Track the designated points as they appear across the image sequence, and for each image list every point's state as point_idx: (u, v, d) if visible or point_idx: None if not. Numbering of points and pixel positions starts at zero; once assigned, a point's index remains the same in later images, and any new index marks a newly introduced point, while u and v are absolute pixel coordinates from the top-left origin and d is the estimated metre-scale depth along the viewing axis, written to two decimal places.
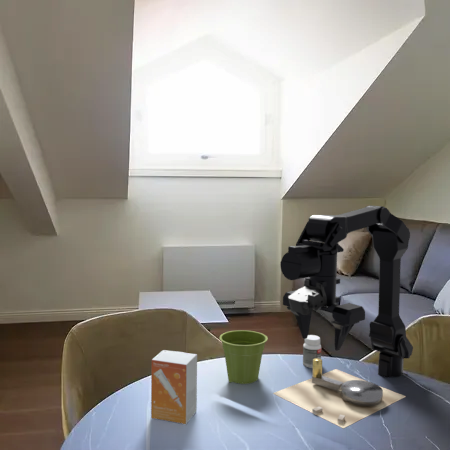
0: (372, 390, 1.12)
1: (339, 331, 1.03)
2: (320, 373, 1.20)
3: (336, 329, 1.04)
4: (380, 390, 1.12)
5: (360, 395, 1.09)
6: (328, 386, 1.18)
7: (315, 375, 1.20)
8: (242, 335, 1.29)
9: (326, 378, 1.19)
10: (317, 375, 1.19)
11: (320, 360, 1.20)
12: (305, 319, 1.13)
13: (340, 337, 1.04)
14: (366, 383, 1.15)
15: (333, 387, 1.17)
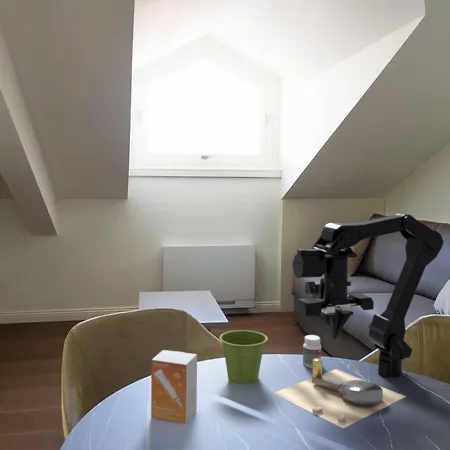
0: (372, 390, 1.12)
1: None
2: (320, 373, 1.20)
3: None
4: (380, 390, 1.12)
5: (360, 395, 1.09)
6: (328, 386, 1.18)
7: (315, 375, 1.20)
8: (242, 335, 1.29)
9: (326, 378, 1.19)
10: (317, 375, 1.19)
11: (320, 360, 1.20)
12: None
13: (328, 325, 1.22)
14: (366, 383, 1.15)
15: (333, 387, 1.17)
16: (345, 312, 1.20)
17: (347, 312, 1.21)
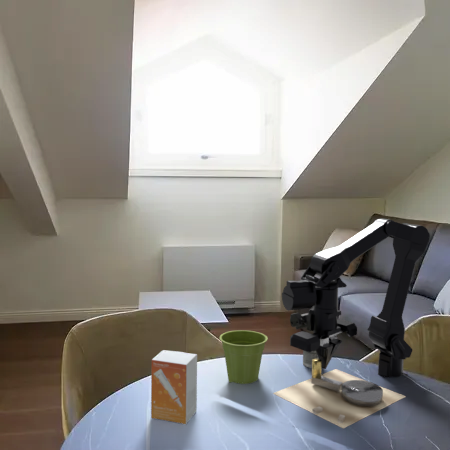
0: (372, 390, 1.12)
1: None
2: (319, 373, 1.19)
3: None
4: (380, 389, 1.12)
5: (361, 395, 1.09)
6: (328, 386, 1.17)
7: (314, 375, 1.19)
8: (242, 335, 1.29)
9: (325, 379, 1.19)
10: (316, 375, 1.19)
11: (319, 360, 1.20)
12: None
13: (319, 356, 1.21)
14: (366, 383, 1.16)
15: (333, 387, 1.17)
16: (335, 342, 1.20)
17: (335, 341, 1.21)
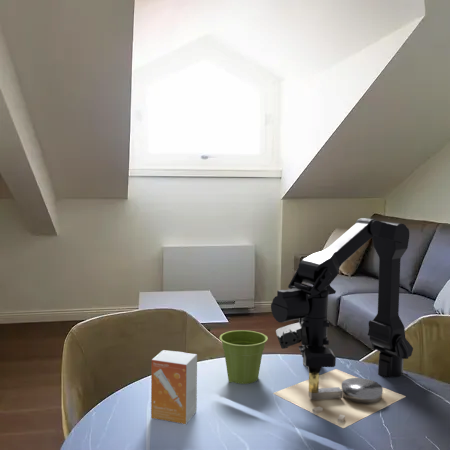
0: (369, 384, 1.15)
1: None
2: None
3: None
4: (372, 381, 1.17)
5: (374, 392, 1.11)
6: (330, 396, 1.12)
7: (315, 390, 1.11)
8: (242, 335, 1.29)
9: (323, 390, 1.13)
10: (317, 389, 1.12)
11: (316, 373, 1.12)
12: None
13: (311, 368, 1.13)
14: (355, 380, 1.17)
15: (336, 395, 1.12)
16: None
17: None
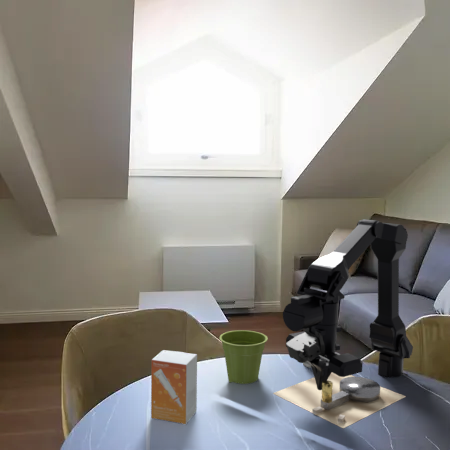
0: (363, 381, 1.17)
1: (320, 372, 1.07)
2: None
3: (317, 370, 1.08)
4: (361, 378, 1.19)
5: (376, 388, 1.13)
6: (341, 402, 1.09)
7: (331, 399, 1.07)
8: (242, 335, 1.29)
9: (333, 397, 1.09)
10: (331, 398, 1.07)
11: (328, 381, 1.08)
12: None
13: (322, 377, 1.08)
14: (348, 380, 1.17)
15: (345, 400, 1.10)
16: None
17: None
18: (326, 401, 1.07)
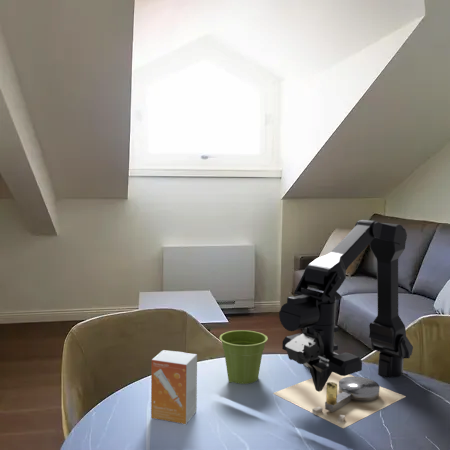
0: (361, 380, 1.17)
1: (320, 373, 1.07)
2: None
3: (317, 371, 1.08)
4: (358, 377, 1.19)
5: (376, 387, 1.14)
6: (344, 403, 1.09)
7: (336, 401, 1.06)
8: (242, 335, 1.29)
9: (337, 398, 1.09)
10: (336, 400, 1.07)
11: (332, 383, 1.07)
12: None
13: (322, 378, 1.08)
14: (347, 381, 1.17)
15: (347, 401, 1.10)
16: None
17: None
18: (331, 403, 1.06)
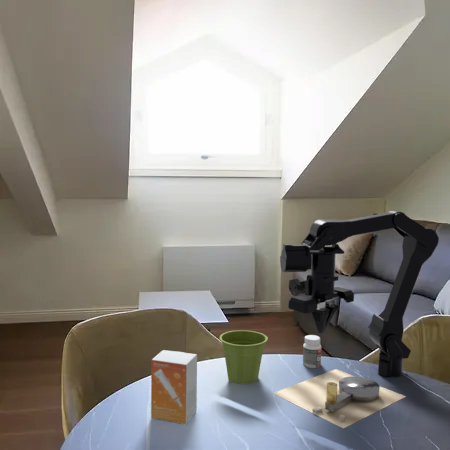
0: (361, 380, 1.17)
1: None
2: None
3: None
4: (358, 377, 1.19)
5: (376, 387, 1.14)
6: (344, 403, 1.09)
7: (336, 401, 1.06)
8: (242, 335, 1.29)
9: (337, 398, 1.09)
10: (336, 400, 1.07)
11: (332, 383, 1.07)
12: None
13: (316, 320, 1.24)
14: (347, 381, 1.17)
15: (347, 401, 1.10)
16: (333, 306, 1.23)
17: (333, 305, 1.24)
18: (331, 403, 1.06)
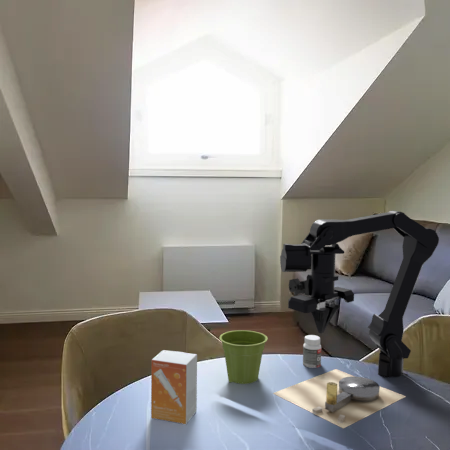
0: (361, 380, 1.17)
1: None
2: None
3: None
4: (358, 377, 1.19)
5: (376, 387, 1.14)
6: (344, 403, 1.09)
7: (336, 401, 1.06)
8: (242, 335, 1.29)
9: (337, 398, 1.09)
10: (336, 400, 1.07)
11: (332, 383, 1.07)
12: None
13: (316, 320, 1.24)
14: (347, 381, 1.17)
15: (347, 401, 1.10)
16: (333, 306, 1.23)
17: (333, 305, 1.24)
18: (331, 403, 1.06)
